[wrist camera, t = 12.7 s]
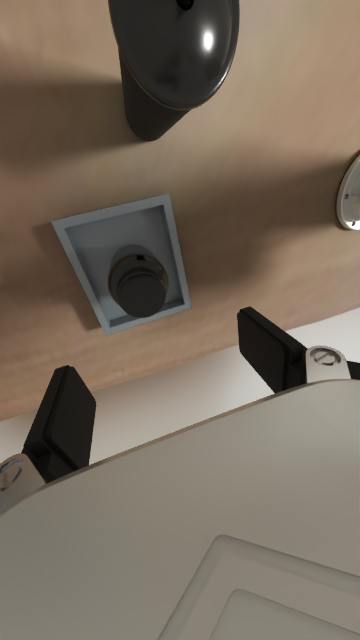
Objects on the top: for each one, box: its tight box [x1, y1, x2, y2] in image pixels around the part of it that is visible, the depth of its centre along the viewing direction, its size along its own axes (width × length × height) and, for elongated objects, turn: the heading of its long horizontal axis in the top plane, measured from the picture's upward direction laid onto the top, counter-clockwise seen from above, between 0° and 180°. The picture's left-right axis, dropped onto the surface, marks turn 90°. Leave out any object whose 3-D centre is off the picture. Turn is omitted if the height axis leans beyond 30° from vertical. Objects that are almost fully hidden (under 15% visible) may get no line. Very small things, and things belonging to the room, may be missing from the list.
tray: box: [51, 193, 192, 335], centre depth 29 cm, size 14×16×3 cm
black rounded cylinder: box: [108, 0, 240, 141], centre depth 14 cm, size 8×8×20 cm
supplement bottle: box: [108, 244, 169, 318], centre depth 25 cm, size 7×7×12 cm
